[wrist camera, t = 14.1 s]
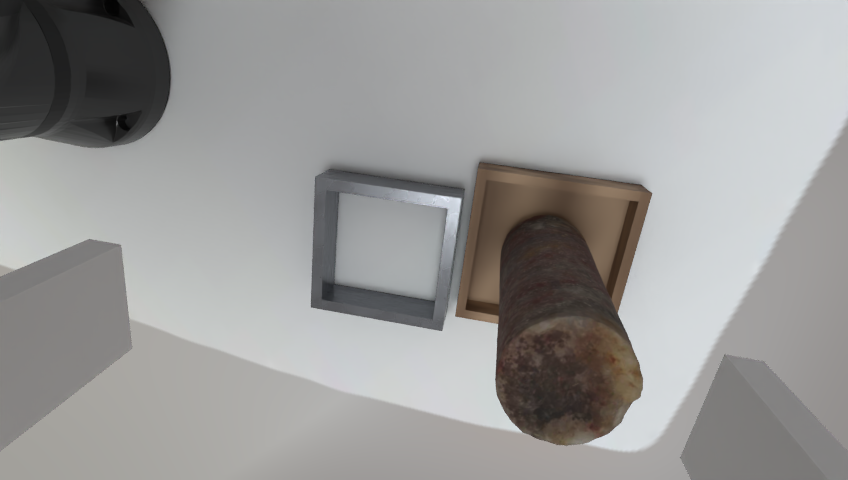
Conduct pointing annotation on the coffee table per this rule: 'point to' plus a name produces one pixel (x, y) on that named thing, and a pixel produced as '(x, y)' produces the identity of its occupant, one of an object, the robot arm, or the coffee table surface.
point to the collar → (366, 300)
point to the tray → (558, 196)
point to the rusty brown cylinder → (560, 338)
